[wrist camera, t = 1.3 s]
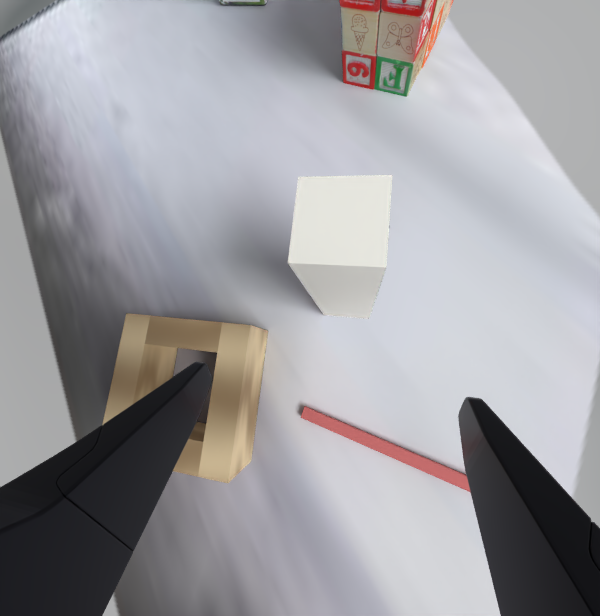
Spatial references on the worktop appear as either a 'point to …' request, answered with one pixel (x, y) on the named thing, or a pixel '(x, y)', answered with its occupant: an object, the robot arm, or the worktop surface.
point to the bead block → (224, 395)
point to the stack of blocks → (388, 41)
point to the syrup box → (243, 2)
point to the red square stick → (387, 448)
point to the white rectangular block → (341, 241)
